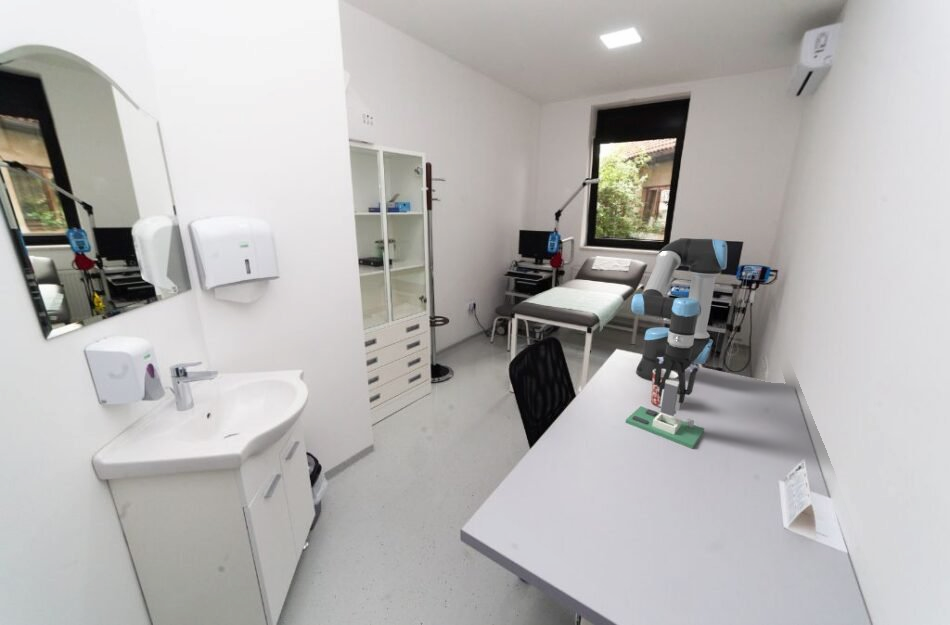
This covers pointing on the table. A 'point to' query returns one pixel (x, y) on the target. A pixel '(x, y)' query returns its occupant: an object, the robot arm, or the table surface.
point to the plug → (670, 396)
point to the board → (666, 426)
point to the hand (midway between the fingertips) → (669, 407)
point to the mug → (655, 389)
